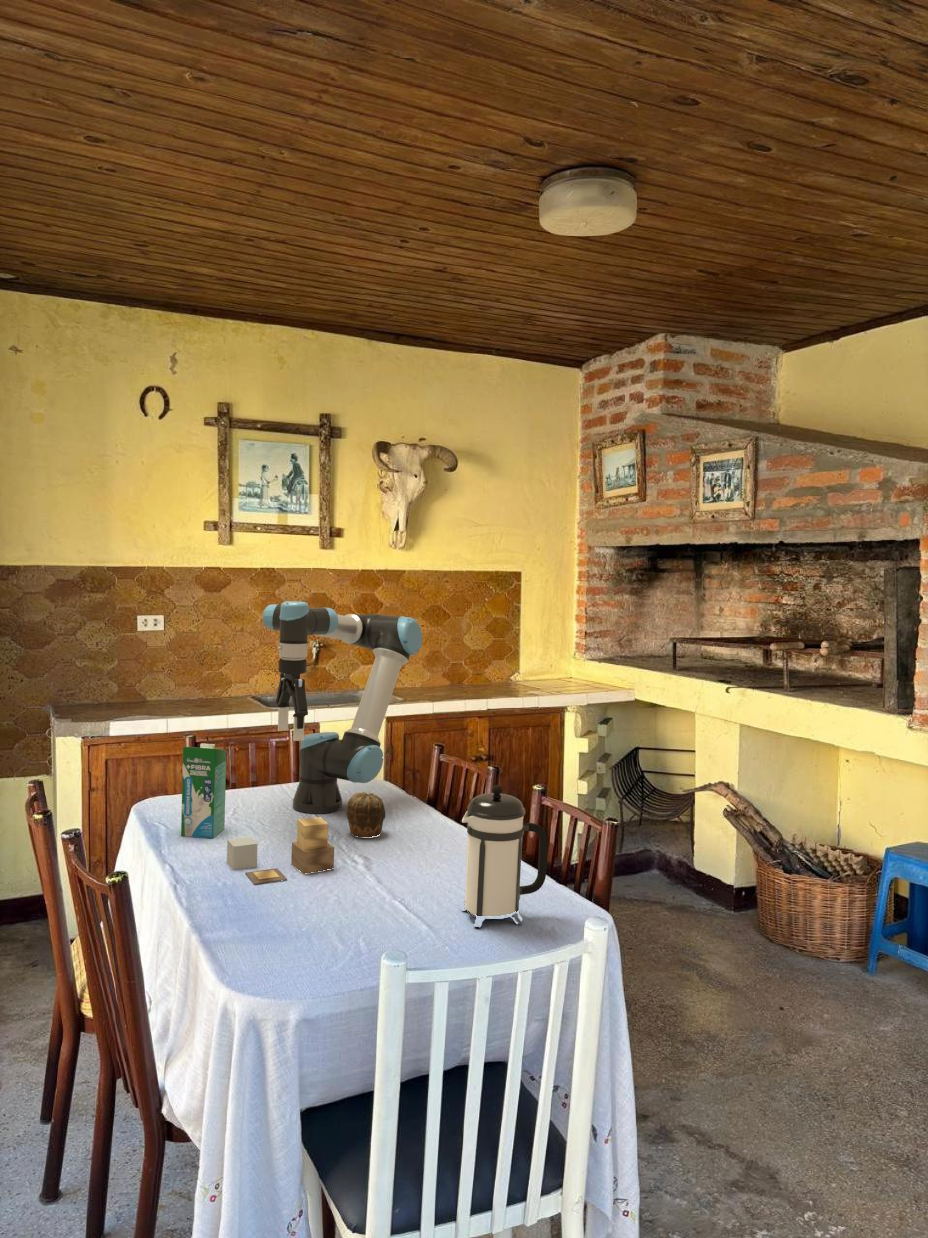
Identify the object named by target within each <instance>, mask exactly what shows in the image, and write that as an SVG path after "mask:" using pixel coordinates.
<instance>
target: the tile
mask: <svg viewBox="0 0 928 1238" xmlns="http://www.w3.org/2000/svg"><path fill="white" fill-rule="evenodd" d="M245 875H246V877H247V878H248V879H249V880H250V881H251V883H252V884H253V885H254V886H259V885H264V884H263V883H266V884H271V883H270V882H273V883H275V882H274V881H280V882H282V881H281V880H287V881H288V878H287V877H286V876H285V875H284V873H282V872H281V870H280V869H279V868H278V867H277V868H270V869H269V868H268V869H261V870H254V871H245ZM267 882H269V883H267ZM258 884H259V885H258Z"/></svg>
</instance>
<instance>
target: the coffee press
mask: <svg viewBox="0 0 928 1238" xmlns="http://www.w3.org/2000/svg"><path fill="white" fill-rule="evenodd" d="M503 790H504V789H503V788H502V786H501V785H499V784H495V785H494V786H492V788H491V791H492V792H488V793H482V794H478V795H477V796H475V797H473V798H472V799H471V800H470V803H469V804H468V805H467V808H466V812H465V814H464V815H463V817H462V819H461V822H462V823H466V827H467V828H466V833H467V848H466V850H467V852H466V870H465V889H464V891H465V894H464V898H465V899H464V902H465V904H464V908H465V909H467V911H466V912H468V911H469V912H470V913H472V914H476V915H477V916H501V915H506V914H511V913H513V912H515V911H516V912H517V911H518V910H519V911H520V909H519V907H520V899H521V896H522V895H528V894H533V893H536V892H537V891H539V890H540V889H541V888H542V887H543V885H544V883H545V881H546V877H547V868H548V845H549V844H548V837H547V834H546V831H545V830H544V828H543V827H542V826H541V825H539V824H537V823H534V822H527V823H524V816H526V808H525V807H524V805H523V802H522V801H521V800H520V799H519V798H517V797H515V796H513V795H510V794H507V793H506V794H505V793H502V792H503ZM527 831H528V832H533V833H535V834H536V835H537V837H538V859H537V862H538V863H537V875H536V879H535V880H534V882H532V883H531V884H529V885H528V884H527V885H521V873H522V872H521V871H522V870H521V869H522V849H523V836H524V833H525V832H527ZM469 912H468V913H469ZM470 913H469V914H470Z"/></svg>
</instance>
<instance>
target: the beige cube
mask: <svg viewBox="0 0 928 1238" xmlns="http://www.w3.org/2000/svg"><path fill="white" fill-rule="evenodd" d="M226 863H227V864H228V865H229V867H230V868H231V870H232V871H235V869H237V870H242V869H243V870H244V869H250V868H257V867H258V843H257V841H256V840H255V839H253V837H252V836H246V837H237V838H230V839H229V838H228V839H227V844H226Z"/></svg>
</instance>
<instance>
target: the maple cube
mask: <svg viewBox="0 0 928 1238" xmlns="http://www.w3.org/2000/svg"><path fill="white" fill-rule="evenodd" d="M296 832H297V833H296V842H297V843H298V844H299V845H300V846H301V847H302V848H303V849H304V850H308V849H317V848H325V847H327V844H328V843H329V842H328V840H329V839H328V837H329V836H328V835H329V823H328V822H327V821H325V820H324V819H323V818H322V817H321V816H318V817H310V818H308V817H307V818H298V819H297V829H296Z"/></svg>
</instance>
